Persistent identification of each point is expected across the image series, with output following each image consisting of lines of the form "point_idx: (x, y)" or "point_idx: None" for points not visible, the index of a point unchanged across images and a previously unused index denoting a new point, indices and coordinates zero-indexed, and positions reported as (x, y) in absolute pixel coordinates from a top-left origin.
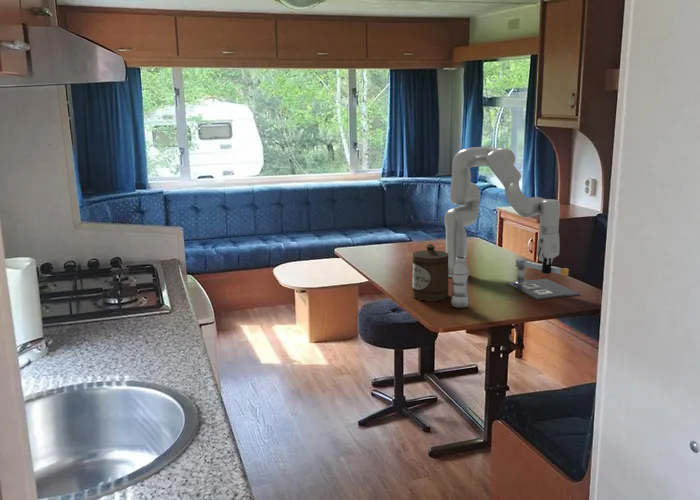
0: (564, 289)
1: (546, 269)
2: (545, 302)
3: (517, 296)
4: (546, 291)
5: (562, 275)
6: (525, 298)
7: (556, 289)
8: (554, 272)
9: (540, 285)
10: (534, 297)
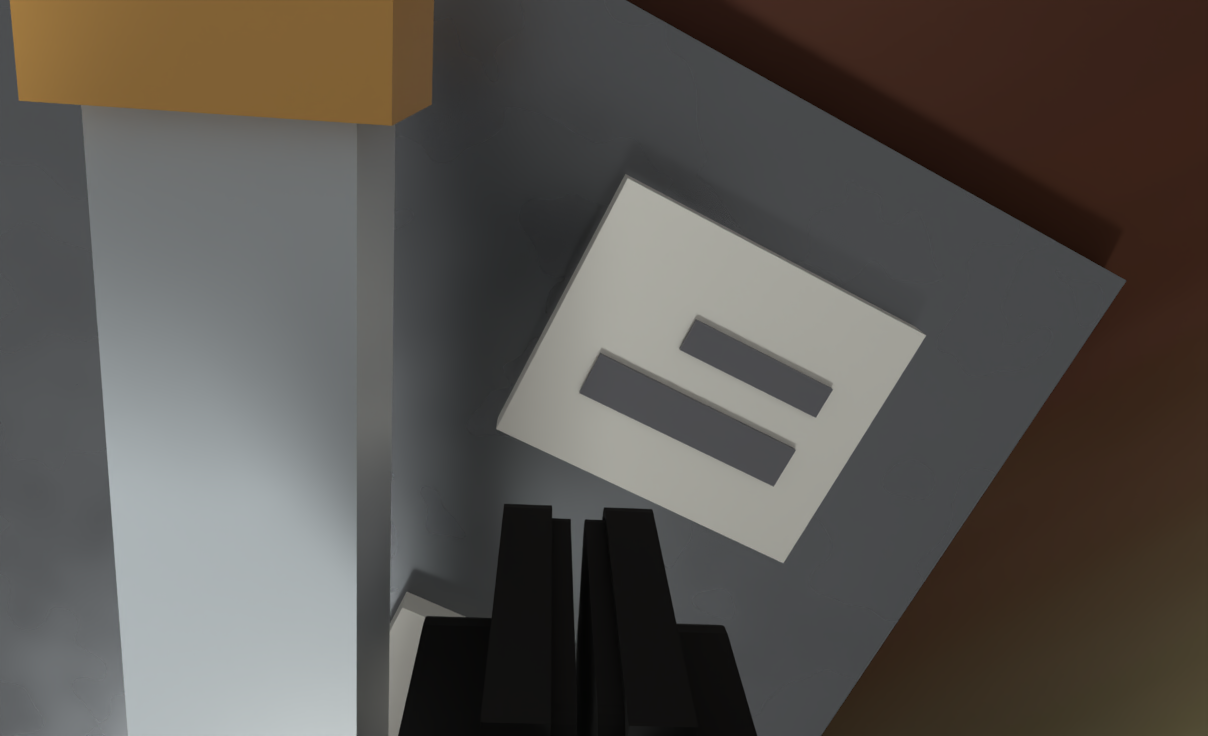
0: (69, 160)
1: (722, 666)
2: (1193, 29)
3: (1117, 641)
4: (650, 332)
5: (433, 3)
6: (1155, 475)
7: None
8: (390, 414)
9: None
10: (1059, 359)
